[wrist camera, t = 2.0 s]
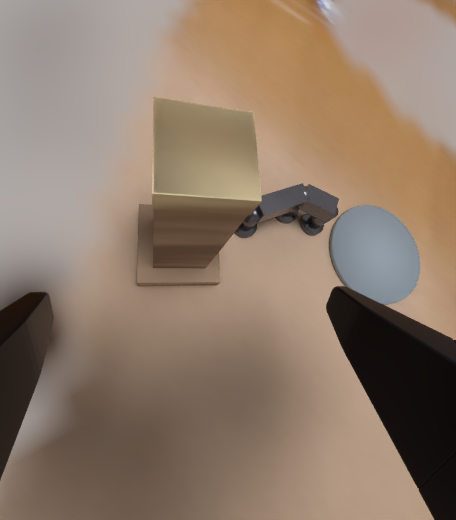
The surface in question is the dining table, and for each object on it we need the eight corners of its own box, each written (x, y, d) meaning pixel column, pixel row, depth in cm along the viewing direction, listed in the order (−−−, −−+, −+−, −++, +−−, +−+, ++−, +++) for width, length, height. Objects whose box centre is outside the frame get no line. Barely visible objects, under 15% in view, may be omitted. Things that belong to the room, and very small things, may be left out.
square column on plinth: (216, 285, 21) (289, 228, 10) (137, 285, 20) (119, 220, 9) (213, 215, 23) (274, 95, 11) (139, 211, 21) (126, 70, 10)
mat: (417, 312, 25) (422, 312, 25) (326, 293, 23) (330, 292, 23) (413, 220, 28) (417, 218, 27) (331, 196, 26) (335, 194, 26)
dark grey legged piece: (319, 256, 24) (348, 242, 21) (230, 234, 22) (244, 215, 19) (322, 212, 25) (349, 191, 22) (237, 188, 24) (252, 162, 20)
